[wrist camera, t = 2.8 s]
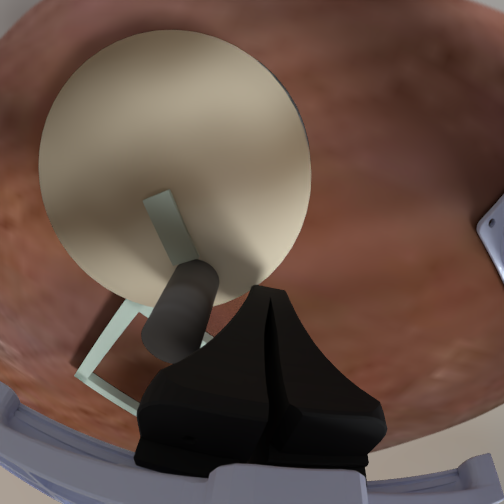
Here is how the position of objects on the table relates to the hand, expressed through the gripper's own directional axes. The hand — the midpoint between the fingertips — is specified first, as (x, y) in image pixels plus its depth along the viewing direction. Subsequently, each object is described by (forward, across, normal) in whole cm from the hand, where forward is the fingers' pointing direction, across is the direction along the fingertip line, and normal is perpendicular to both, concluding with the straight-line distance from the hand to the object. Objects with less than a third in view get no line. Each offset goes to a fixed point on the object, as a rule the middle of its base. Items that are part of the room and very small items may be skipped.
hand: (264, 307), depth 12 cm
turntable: (+3, +5, -4) cm, 7 cm away
